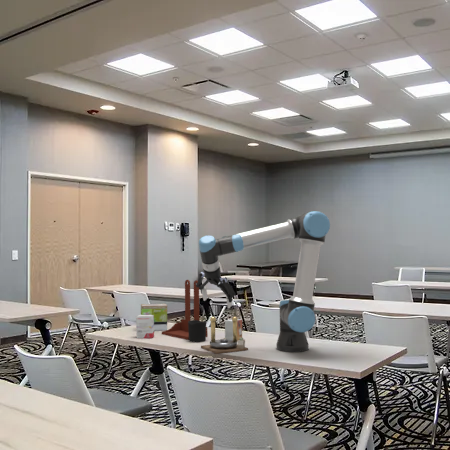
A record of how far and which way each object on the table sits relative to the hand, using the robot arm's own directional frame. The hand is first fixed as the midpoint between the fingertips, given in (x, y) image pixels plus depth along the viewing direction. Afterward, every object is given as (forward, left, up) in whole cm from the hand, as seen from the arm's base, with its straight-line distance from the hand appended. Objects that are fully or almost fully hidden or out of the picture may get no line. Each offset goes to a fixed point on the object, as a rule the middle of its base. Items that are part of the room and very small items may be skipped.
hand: (217, 302), depth 255 cm
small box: (+18, -18, -22) cm, 34 cm away
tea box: (+71, +6, -22) cm, 75 cm away
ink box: (+49, +19, -22) cm, 57 cm away
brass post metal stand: (0, -3, -21) cm, 21 cm away
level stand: (0, -3, -22) cm, 22 cm away
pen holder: (+26, -1, -22) cm, 34 cm away
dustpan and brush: (+44, -2, -22) cm, 50 cm away
